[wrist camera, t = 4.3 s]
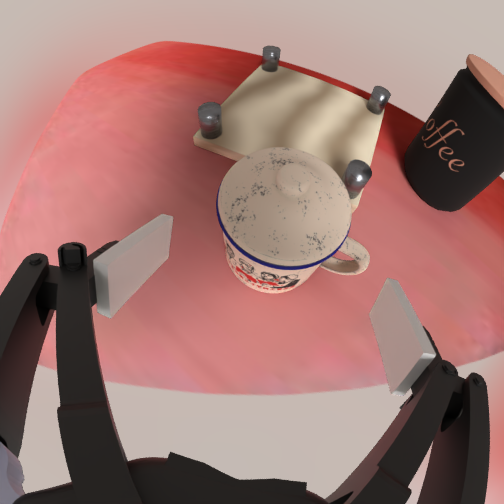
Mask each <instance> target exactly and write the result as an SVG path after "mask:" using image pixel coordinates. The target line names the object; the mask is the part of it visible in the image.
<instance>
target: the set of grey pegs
mask: <svg viewBox="0 0 504 504" xmlns="http://www.w3.org/2000/svg"><path fill="white" fill-rule="evenodd" d="M279 58H280V49H279V48H278V47H275V46H266V47H264V48H263V56H262V67H261V68H262V70H264V71H266V72H276V71H277V70H278V65H279ZM390 96H391V95H390V93H389V91H388V90H386V89H385V88H383V87H381V86H375V87H374V89H373V92H372V94H371V96H370V98H369V100H368V103H367V105H366V107H367V109H368V110H369V111H370V112H371V113H373V114H376V115H380V114H381V113H382V111H383V109H384V108H385V106H386V104H387V102H388V99H389V98H390ZM198 116H199V124H200V131H201V135H202V137H203V138H205V139H216V138H218V137H219V136H220V135H221V134H222V114H221V106H220V105H219V104H218V103H215V102H207V103H204V104H202V105H201V106H199V108H198ZM371 176H372V171H371V168H370V167H369V165H368V164H367V163H365V162H364V161H362V160H358V159H355V160H352V161H350V163H349V164H348V166H347V168H346V170H345V172H344V174H343V176H342V177H341V180H342V182H343V183H344V185H345V187H346V189H347V192H348V194H349V198H350V199H354V198H356V197H357V196H358V195H359V193H360V192H361V191H362V189H363V188H364V186H365V185H366V183H367V182H368V180H369V179H370V177H371Z"/></svg>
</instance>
